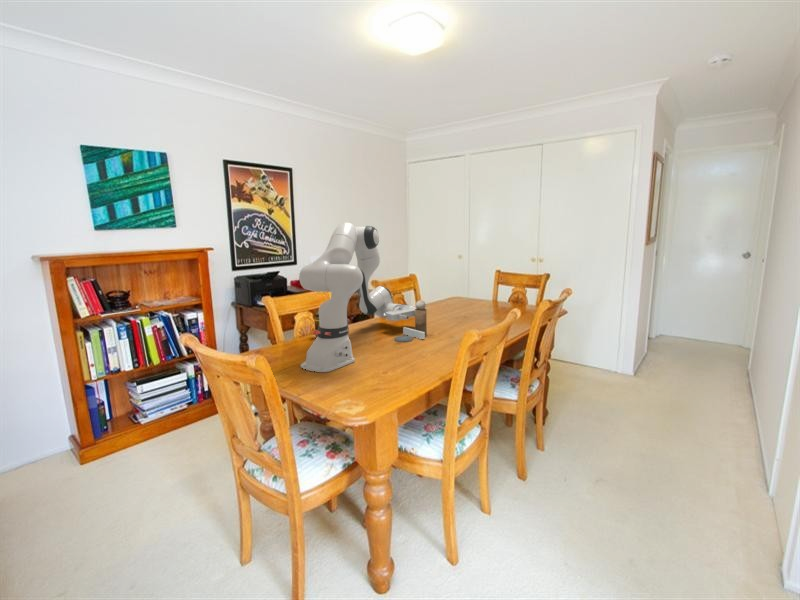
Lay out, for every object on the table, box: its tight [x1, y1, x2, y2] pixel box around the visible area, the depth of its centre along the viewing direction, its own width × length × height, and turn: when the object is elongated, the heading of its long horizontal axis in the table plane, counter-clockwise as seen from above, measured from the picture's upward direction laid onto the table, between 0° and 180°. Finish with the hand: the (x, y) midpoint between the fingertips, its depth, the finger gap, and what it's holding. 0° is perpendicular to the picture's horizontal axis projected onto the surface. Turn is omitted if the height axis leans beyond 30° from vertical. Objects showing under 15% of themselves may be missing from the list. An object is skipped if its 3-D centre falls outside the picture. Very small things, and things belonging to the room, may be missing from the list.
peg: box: [414, 299, 428, 336], centre depth 194 cm, size 6×6×18 cm
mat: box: [393, 335, 414, 343], centre depth 189 cm, size 9×9×1 cm
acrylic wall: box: [402, 326, 426, 340], centre depth 193 cm, size 14×1×4 cm, turn 42°
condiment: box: [314, 312, 320, 338], centre depth 195 cm, size 7×8×12 cm
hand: (414, 316), depth 198 cm, fingers open, 8 cm apart
